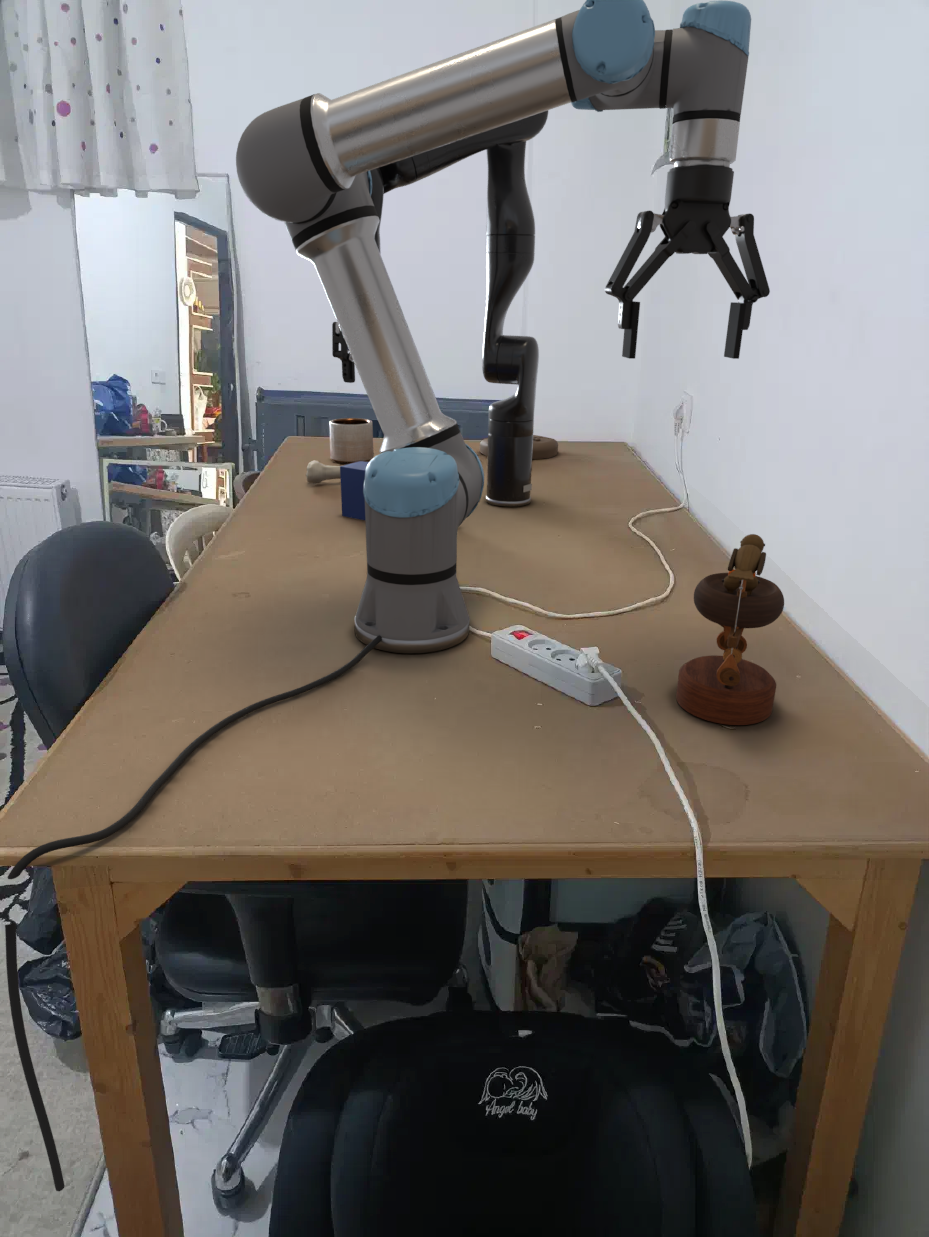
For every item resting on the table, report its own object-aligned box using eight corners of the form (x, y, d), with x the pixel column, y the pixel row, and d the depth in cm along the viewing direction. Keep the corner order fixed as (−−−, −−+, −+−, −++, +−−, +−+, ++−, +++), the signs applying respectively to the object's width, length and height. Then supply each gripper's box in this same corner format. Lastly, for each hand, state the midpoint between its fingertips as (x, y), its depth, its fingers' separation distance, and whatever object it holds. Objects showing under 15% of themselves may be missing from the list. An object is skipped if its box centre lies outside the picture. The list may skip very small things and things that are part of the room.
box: (456, 527, 159) (457, 476, 155) (438, 535, 154) (438, 482, 151) (362, 509, 170) (360, 460, 167) (341, 516, 166) (339, 466, 162)
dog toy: (395, 478, 195) (394, 456, 193) (397, 484, 190) (397, 462, 188) (306, 480, 192) (305, 458, 190) (306, 486, 187) (305, 464, 185)
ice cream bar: (484, 468, 207) (485, 451, 205) (477, 446, 232) (478, 431, 231) (570, 469, 208) (571, 452, 206) (554, 447, 233) (554, 431, 232)
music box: (791, 736, 88) (807, 553, 81) (683, 736, 90) (689, 557, 82) (760, 672, 102) (771, 512, 95) (667, 673, 104) (671, 515, 96)
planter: (327, 456, 217) (325, 418, 214) (369, 454, 220) (368, 417, 217) (334, 465, 208) (332, 425, 204) (377, 463, 211) (376, 424, 207)
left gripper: (784, 173, 103) (759, 355, 111) (587, 166, 99) (575, 354, 107) (817, 167, 96) (787, 360, 104) (607, 159, 93) (593, 360, 101)
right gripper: (370, 285, 157) (372, 375, 164) (318, 285, 146) (322, 382, 153) (402, 286, 154) (403, 378, 160) (351, 286, 143) (355, 385, 149)
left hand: (680, 358), depth 106 cm, fingers open, 13 cm apart
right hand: (364, 380), depth 156 cm, fingers open, 8 cm apart
